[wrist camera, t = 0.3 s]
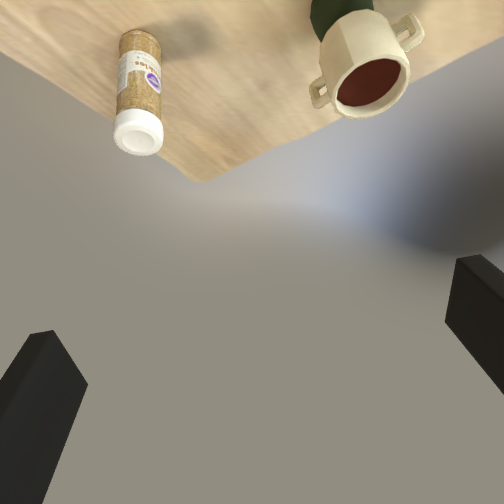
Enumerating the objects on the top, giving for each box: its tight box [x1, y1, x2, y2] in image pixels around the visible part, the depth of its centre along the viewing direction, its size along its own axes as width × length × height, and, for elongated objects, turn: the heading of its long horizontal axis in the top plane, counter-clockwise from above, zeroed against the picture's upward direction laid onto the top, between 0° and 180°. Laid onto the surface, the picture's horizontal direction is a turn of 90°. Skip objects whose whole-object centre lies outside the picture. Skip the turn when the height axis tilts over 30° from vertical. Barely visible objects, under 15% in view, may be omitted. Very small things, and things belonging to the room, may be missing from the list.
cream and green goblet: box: [309, 0, 424, 120], centre depth 34 cm, size 11×7×13 cm, turn 129°
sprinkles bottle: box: [113, 30, 163, 156], centre depth 35 cm, size 5×5×13 cm
